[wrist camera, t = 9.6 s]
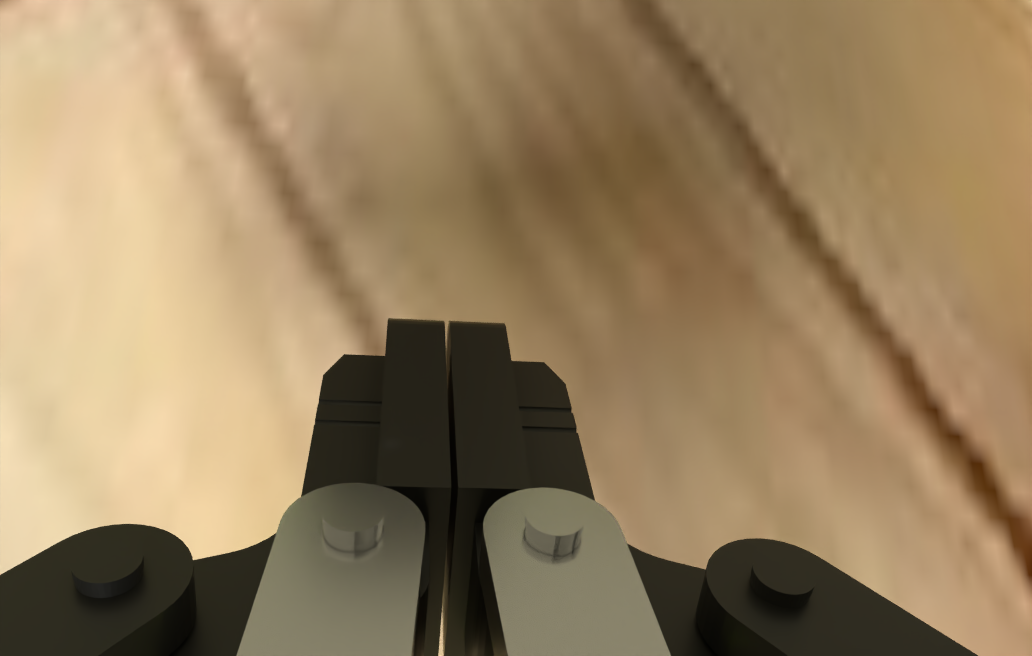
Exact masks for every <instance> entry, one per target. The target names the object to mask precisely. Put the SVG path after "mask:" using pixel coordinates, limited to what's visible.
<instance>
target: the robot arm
mask: <svg viewBox="0 0 1032 656" xmlns="http://www.w3.org/2000/svg"><path fill="white" fill-rule="evenodd" d="M571 409H572V408H571V404H570V400H569V396H568V392H567V388H566V384H565V383H564V382H563V381H562V380H561V379H560V378H559V377H558V376H557V375H556V374H555V373H554V372H553V371H552V370H551V369H550V368H549V367H548V366H547V365H546V364H545V363H544V362H521V361H511V356H510V349H509V343H508V337H507V331H506V326H505V324H504V323H483V322H462V321H449V323H448V330H447V342H446V345H445V323H444V321H436V320H414V319H392V318H388V326H387V339H386V353H385V356H370V355H346V354H344V355H343V356H342V357H341V358H340V359H339V360H338V361H337V362H336V363H335V364H334V365H333V366H332V367H331V368H330V369H329V370H328V371H327V372H326V373H325V374H324V375H323V380H322V385H321V391H320V396H319V404H318V407H317V413H316V418H315V425H314V429H313V435H312V440H311V446H310V451H309V457H308V462H307V468H306V473H305V479H304V484H303V490H302V495H301V498H299V499H297V500H296V501H295V502H294V503H293V504H292V505H291V506H289V508H288V509H287V510H286V512H285V513H284V515H283V517H282V519H281V521H280V524H279V527H278V530H277V533H276V534H274V535H273V536H271V537H270V538H268V539H266V540H264V541H262V542H260V543H258V544H256V545H253V546H251V547H248V548H245V549H242V550H238V551H235V552H231V553H226V554H222V555H217V556H212V557H207V558H202V559H198V560H193V559H192V555H191V553H190V551H189V549H188V547H187V546H186V545H185V544H184V542H183V541H181V540H180V539H179V538H178V537H176V536H175V535H173V534H171V533H169V532H167V531H165V530H162V529H159V528H156V527H152V526H146V525H138V524H119V525H109V526H103V527H98V528H94V529H90V530H86V531H84V532H81V533H78V534H75V535H73V536H71V537H69V538H67V539H65V540H62V541H60V542H59V543H57V544H55V545H53V546H51V547H50V548H48V549H46V550H44V551H42V552H41V553H39V554H37V555H35V556H34V557H32V558H30V559H28V560H26V561H25V562H23V563H21V564H19V565H17V566H16V567H14V568H12V569H10V570H8V571H7V572H5V573H3V574H1V575H0V656H438V651H439V638H440V625H441V613H442V610H443V652H444V656H978V655H976V654H975V653H973V652H971V651H970V650H968V649H966V648H965V647H963V646H962V645H960V644H958V643H957V642H955V641H954V640H952V639H950V638H949V637H947V636H945V635H944V634H942V633H941V632H939V631H937V630H936V629H934V628H933V627H931V626H929V625H928V624H926V623H924V622H923V621H921V620H920V619H918V618H916V617H915V616H913V615H912V614H910V613H908V612H907V611H905V610H903V609H902V608H900V607H899V606H897V605H895V604H894V603H892V602H891V601H889V600H887V599H886V598H884V597H882V596H881V595H879V594H878V593H876V592H874V591H873V590H871V589H870V588H868V587H866V586H865V585H863V584H861V583H860V582H858V581H857V580H855V579H853V578H852V577H850V576H849V575H847V574H845V573H844V572H842V571H840V570H839V569H837V568H836V567H834V566H832V565H831V564H829V563H828V562H826V561H824V560H823V559H821V558H819V557H818V556H816V555H814V554H812V553H810V552H809V551H806V550H804V549H802V548H799V547H797V546H794V545H791V544H788V543H785V542H780V541H776V540H770V539H743V540H737V541H734V542H731V543H728V544H726V545H724V546H722V547H720V548H719V549H718V550H717V551H715V552H714V553H713V555H712V556H711V558H710V559H709V562H708V564H707V567H706V570H704V569H700V568H696V567H692V566H688V565H684V564H680V563H676V562H672V561H668V560H665V559H661V558H658V557H655V556H652V555H649V554H647V553H644V552H642V551H640V550H638V549H636V548H634V547H632V546H631V545H629V544H627V542H626V540H625V537H624V535H623V532H622V530H621V527H620V525H619V524H618V522H617V520H616V519H615V518H614V516H613V515H612V514H611V513H610V512H609V511H608V510H607V509H606V508H604V507H603V506H602V505H600V504H599V503H597V502H596V501H595V499H594V495H593V491H592V487H591V483H590V479H589V475H588V471H587V467H586V463H585V459H584V455H583V451H582V447H581V444H580V440H579V436H578V433H576V429H577V428H576V424H575V420H574V416H573V413H571Z"/></svg>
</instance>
